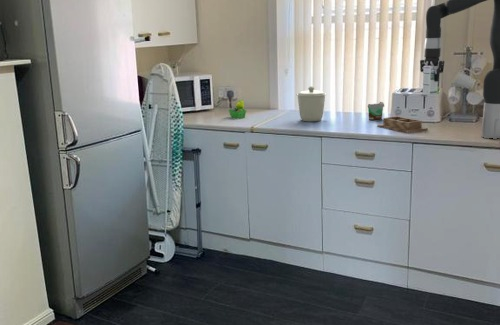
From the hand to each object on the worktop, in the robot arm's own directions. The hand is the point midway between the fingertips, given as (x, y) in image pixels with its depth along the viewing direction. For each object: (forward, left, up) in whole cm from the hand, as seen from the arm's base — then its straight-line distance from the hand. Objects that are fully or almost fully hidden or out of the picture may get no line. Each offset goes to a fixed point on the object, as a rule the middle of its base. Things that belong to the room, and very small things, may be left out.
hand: (431, 80), depth 258 cm
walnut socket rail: (+19, 0, -27) cm, 33 cm away
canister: (+71, +25, -28) cm, 80 cm away
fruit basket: (+111, +56, -28) cm, 127 cm away
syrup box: (0, 0, -7) cm, 7 cm away
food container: (+48, -8, -28) cm, 56 cm away
